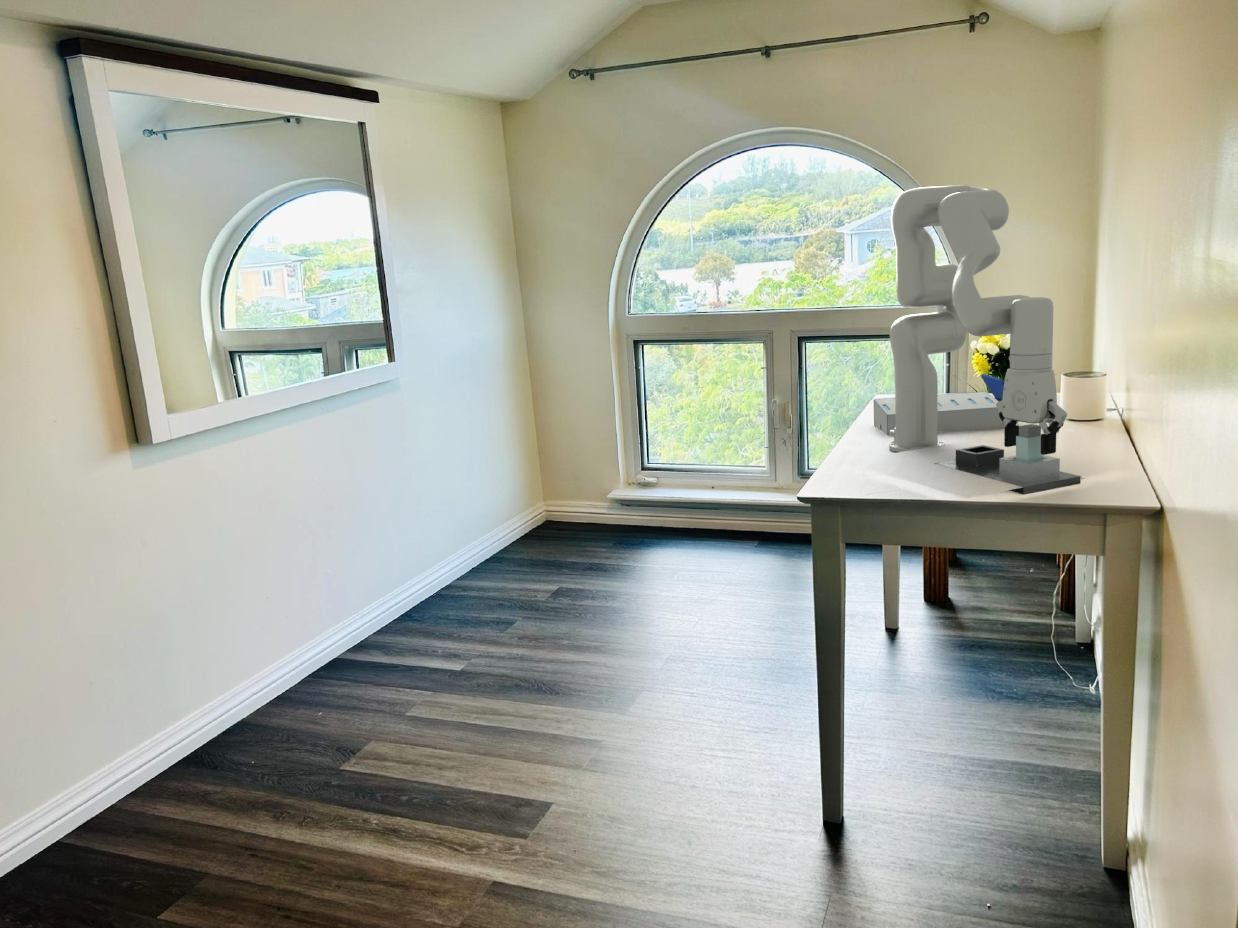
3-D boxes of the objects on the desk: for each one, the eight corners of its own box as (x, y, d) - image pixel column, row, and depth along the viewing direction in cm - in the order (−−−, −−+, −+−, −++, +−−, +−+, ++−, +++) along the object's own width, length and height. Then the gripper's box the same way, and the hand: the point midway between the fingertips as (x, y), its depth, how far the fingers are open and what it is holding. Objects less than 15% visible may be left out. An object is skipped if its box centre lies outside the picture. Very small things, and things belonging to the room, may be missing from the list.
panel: (933, 470, 206) (933, 447, 205) (986, 461, 210) (986, 438, 209) (1023, 494, 182) (1023, 468, 181) (1080, 483, 186) (1081, 458, 185)
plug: (1015, 475, 190) (1016, 426, 188) (1031, 472, 191) (1031, 423, 189) (1027, 478, 187) (1028, 428, 185) (1042, 475, 189) (1043, 425, 187)
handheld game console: (1049, 409, 266) (1050, 375, 264) (1001, 412, 266) (1001, 379, 264) (1025, 400, 281) (1025, 369, 279) (979, 404, 281) (979, 372, 279)
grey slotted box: (887, 436, 246) (886, 407, 245) (874, 426, 260) (873, 399, 259) (1005, 428, 245) (1005, 399, 243) (985, 419, 259) (986, 391, 257)
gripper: (983, 361, 191) (983, 445, 195) (1050, 368, 175) (1048, 459, 179) (1013, 357, 194) (1012, 440, 197) (1081, 363, 178) (1079, 454, 181)
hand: (1029, 449), depth 188 cm, fingers open, 9 cm apart
